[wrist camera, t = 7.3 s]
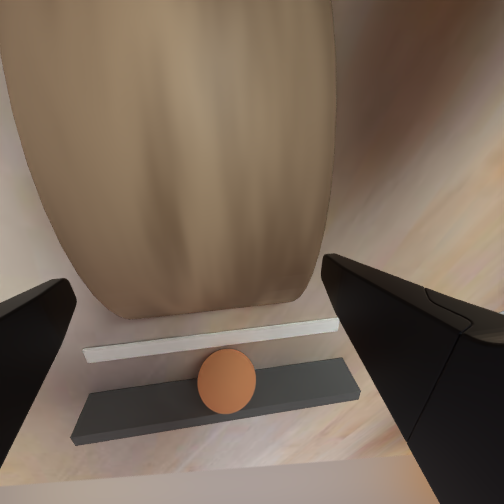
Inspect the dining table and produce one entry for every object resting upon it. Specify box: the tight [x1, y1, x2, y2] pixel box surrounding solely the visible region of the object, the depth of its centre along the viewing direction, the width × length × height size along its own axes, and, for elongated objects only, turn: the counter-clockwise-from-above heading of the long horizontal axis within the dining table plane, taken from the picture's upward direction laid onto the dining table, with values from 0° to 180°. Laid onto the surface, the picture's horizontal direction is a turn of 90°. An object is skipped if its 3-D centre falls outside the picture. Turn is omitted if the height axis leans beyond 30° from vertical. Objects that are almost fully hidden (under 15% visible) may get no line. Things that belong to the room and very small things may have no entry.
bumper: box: [70, 358, 361, 446], centre depth 19 cm, size 20×1×3 cm, turn 92°
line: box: [82, 317, 340, 363], centre depth 18 cm, size 18×1×1 cm, turn 92°
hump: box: [0, 0, 336, 319], centre depth 19 cm, size 10×22×22 cm, turn 2°
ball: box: [197, 349, 256, 414], centre depth 18 cm, size 4×4×4 cm
